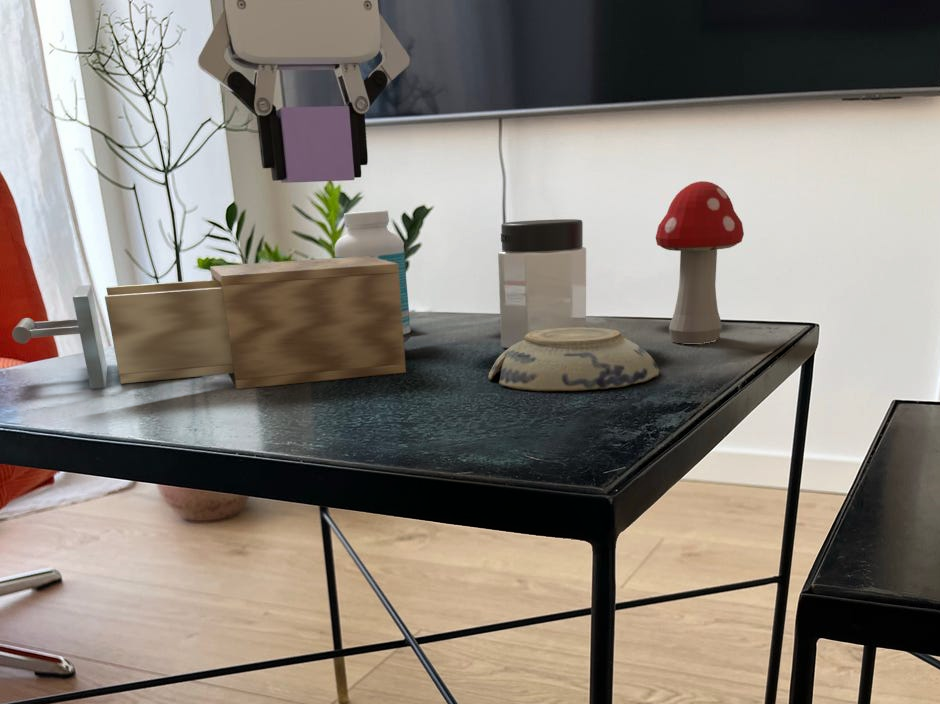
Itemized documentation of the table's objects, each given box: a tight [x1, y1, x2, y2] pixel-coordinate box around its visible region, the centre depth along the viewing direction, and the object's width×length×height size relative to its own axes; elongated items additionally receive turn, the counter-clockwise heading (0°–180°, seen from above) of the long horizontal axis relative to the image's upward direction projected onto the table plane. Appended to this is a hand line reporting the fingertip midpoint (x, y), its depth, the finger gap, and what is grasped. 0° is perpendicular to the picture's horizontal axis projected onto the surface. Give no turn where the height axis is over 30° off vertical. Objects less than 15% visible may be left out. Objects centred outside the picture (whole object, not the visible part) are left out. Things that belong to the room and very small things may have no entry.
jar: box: [497, 218, 587, 350], centre depth 103 cm, size 9×8×12 cm
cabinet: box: [209, 256, 407, 390], centre depth 96 cm, size 16×13×10 cm
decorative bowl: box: [487, 326, 660, 392], centre depth 89 cm, size 15×4×15 cm
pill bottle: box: [334, 209, 411, 343], centre depth 110 cm, size 8×7×14 cm
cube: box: [276, 105, 355, 184], centre depth 71 cm, size 5×5×5 cm
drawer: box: [11, 279, 234, 390], centre depth 92 cm, size 20×11×8 cm, turn 108°
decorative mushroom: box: [655, 180, 745, 344], centre depth 102 cm, size 10×9×15 cm
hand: (316, 175), depth 72 cm, fingers closed on cube, 4 cm apart
